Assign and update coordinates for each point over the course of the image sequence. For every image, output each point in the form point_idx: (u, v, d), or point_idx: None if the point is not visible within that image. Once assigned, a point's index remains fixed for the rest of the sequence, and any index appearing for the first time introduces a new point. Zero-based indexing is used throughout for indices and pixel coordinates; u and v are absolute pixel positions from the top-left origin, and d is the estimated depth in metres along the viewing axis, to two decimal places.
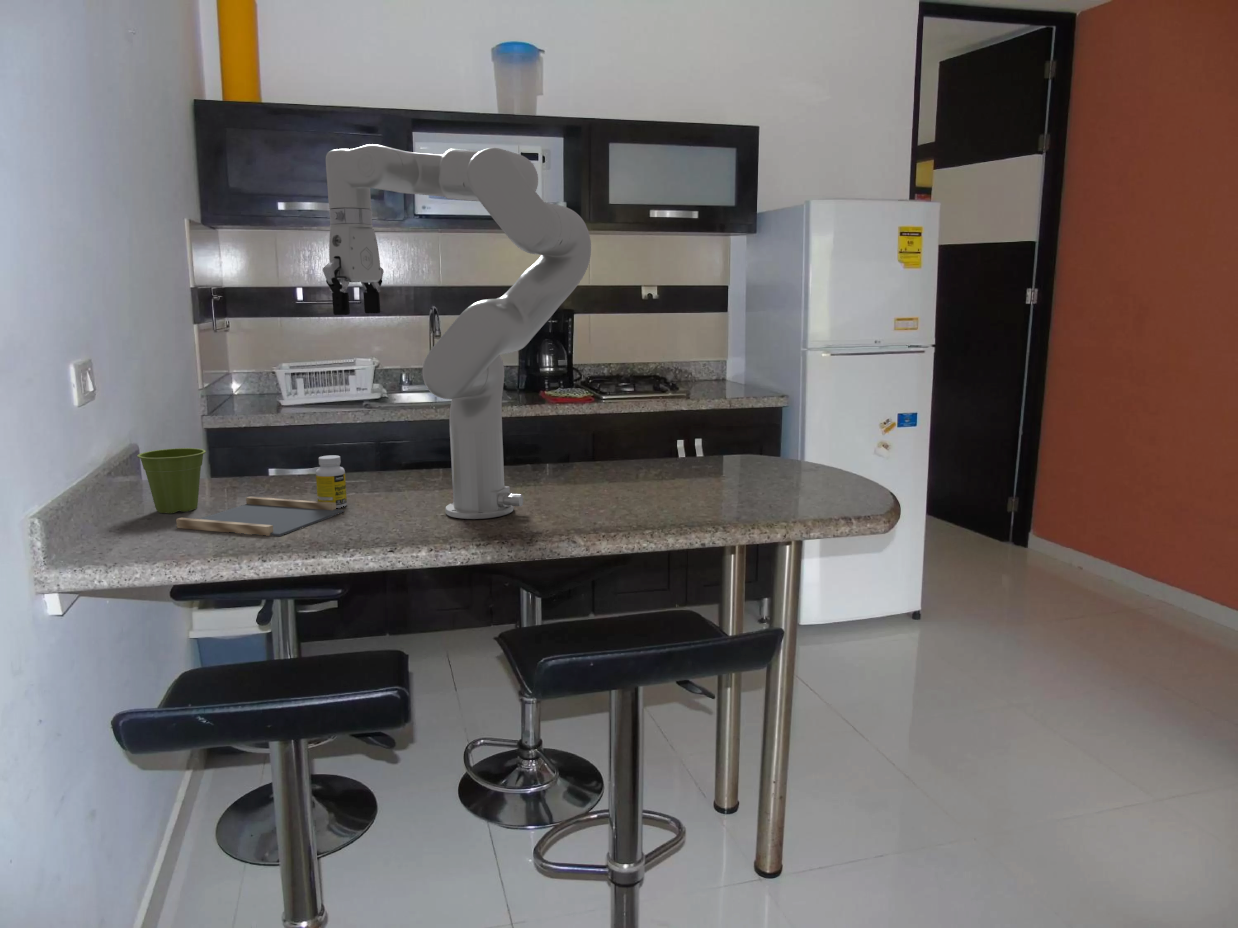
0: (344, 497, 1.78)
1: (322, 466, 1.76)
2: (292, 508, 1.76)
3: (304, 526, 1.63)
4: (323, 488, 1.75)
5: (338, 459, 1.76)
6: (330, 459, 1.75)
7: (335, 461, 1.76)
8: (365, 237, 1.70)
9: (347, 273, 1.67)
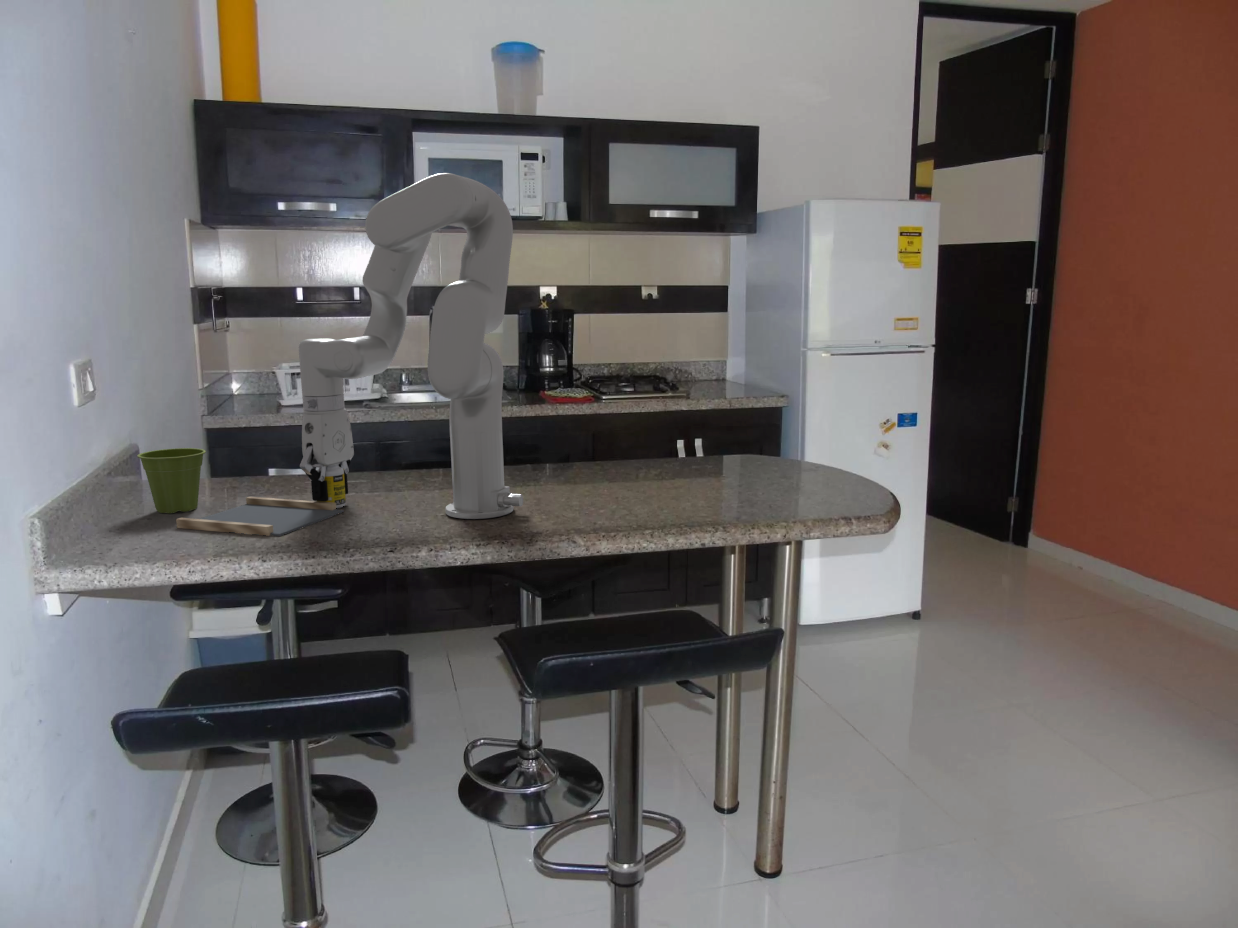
0: (343, 497, 1.77)
1: None
2: (292, 508, 1.76)
3: (304, 526, 1.63)
4: None
5: None
6: None
7: None
8: (337, 420, 1.74)
9: (319, 459, 1.71)
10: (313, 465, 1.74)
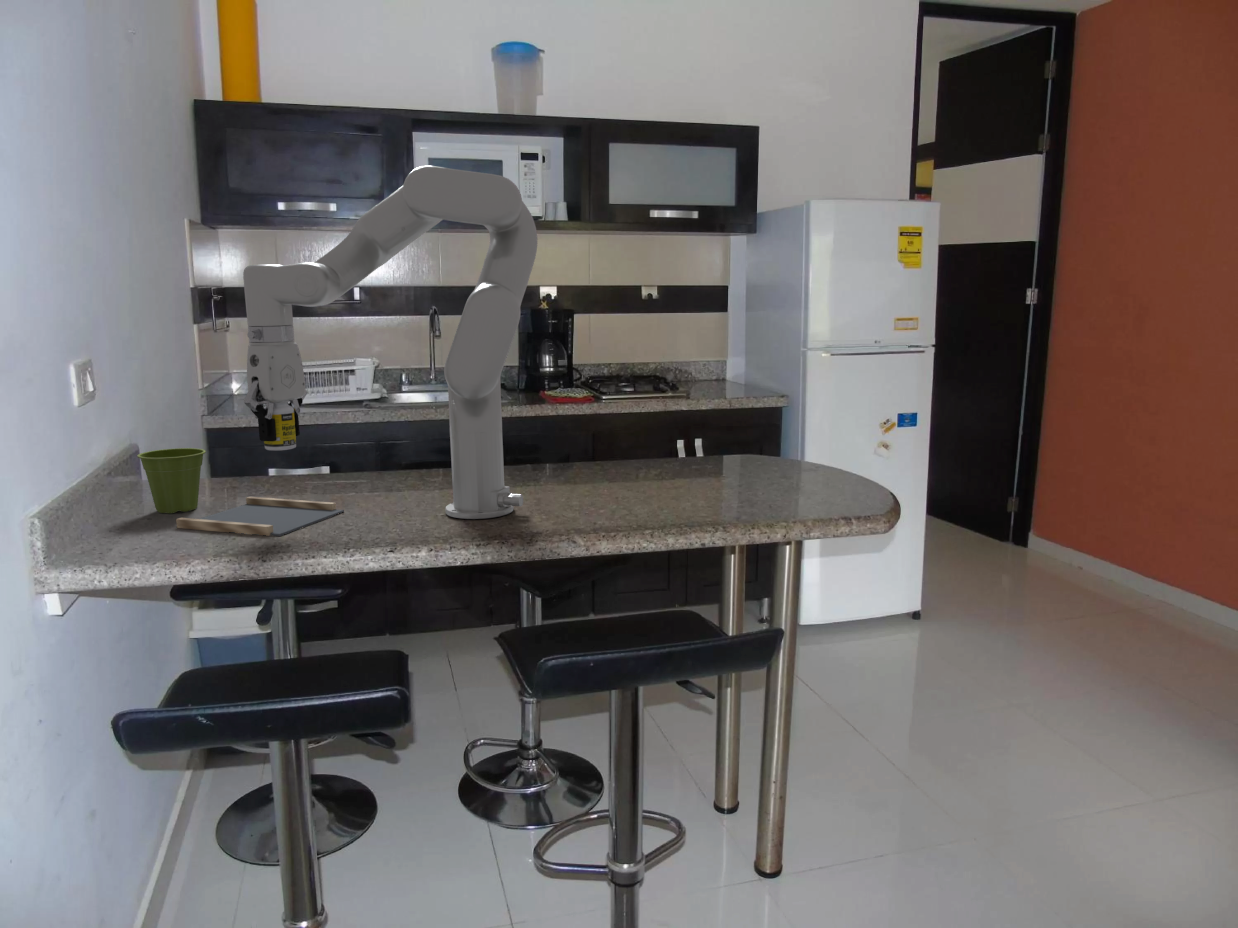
0: (293, 438, 1.64)
1: None
2: (292, 508, 1.76)
3: (304, 526, 1.63)
4: None
5: None
6: None
7: None
8: (285, 354, 1.61)
9: (266, 395, 1.58)
10: (260, 402, 1.61)
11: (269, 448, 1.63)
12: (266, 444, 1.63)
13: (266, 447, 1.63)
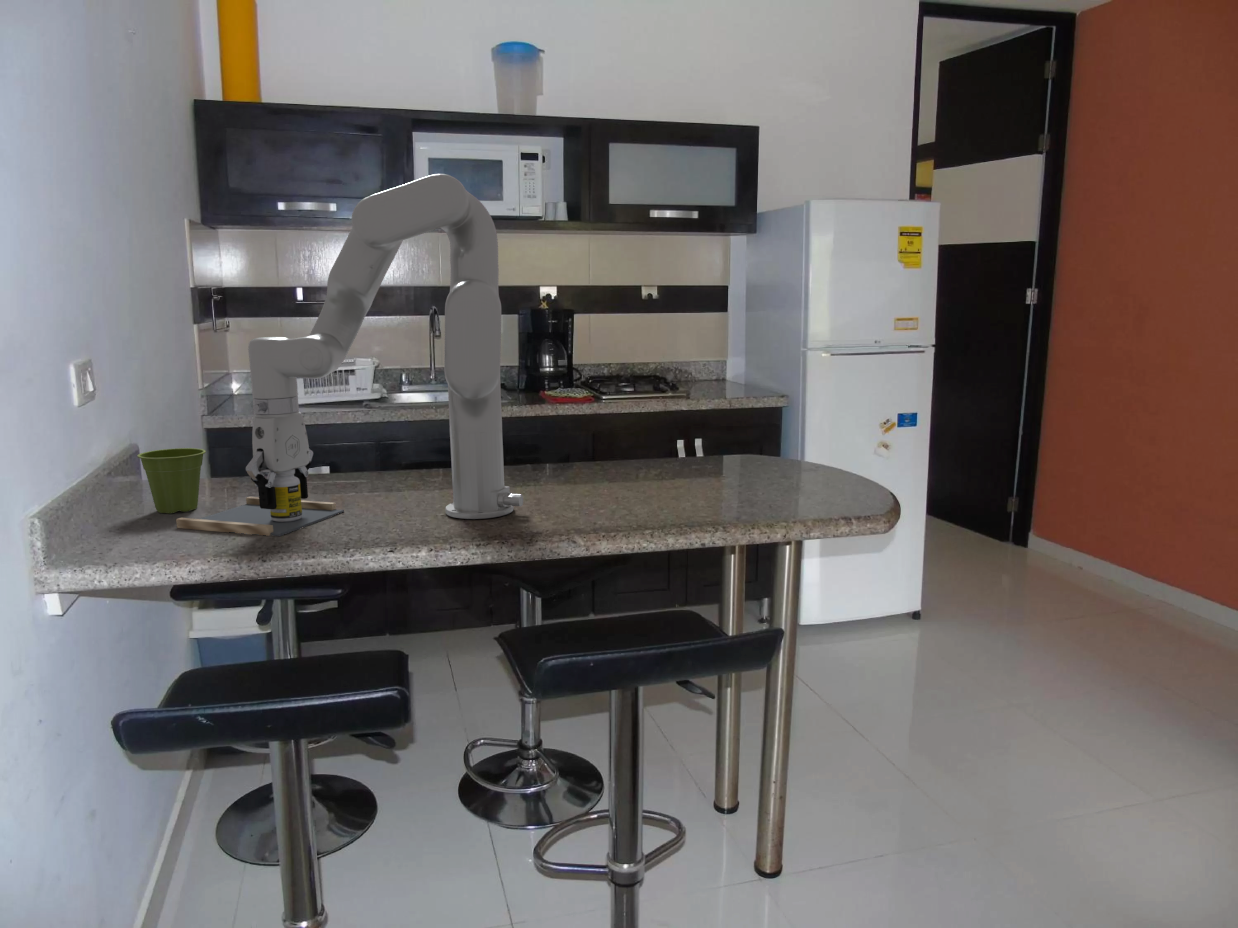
0: (299, 509, 1.67)
1: (275, 476, 1.64)
2: None
3: (304, 526, 1.63)
4: (276, 499, 1.64)
5: None
6: None
7: (289, 471, 1.65)
8: (290, 424, 1.63)
9: (271, 466, 1.60)
10: (262, 470, 1.62)
11: (275, 520, 1.65)
12: (272, 515, 1.65)
13: (272, 519, 1.66)
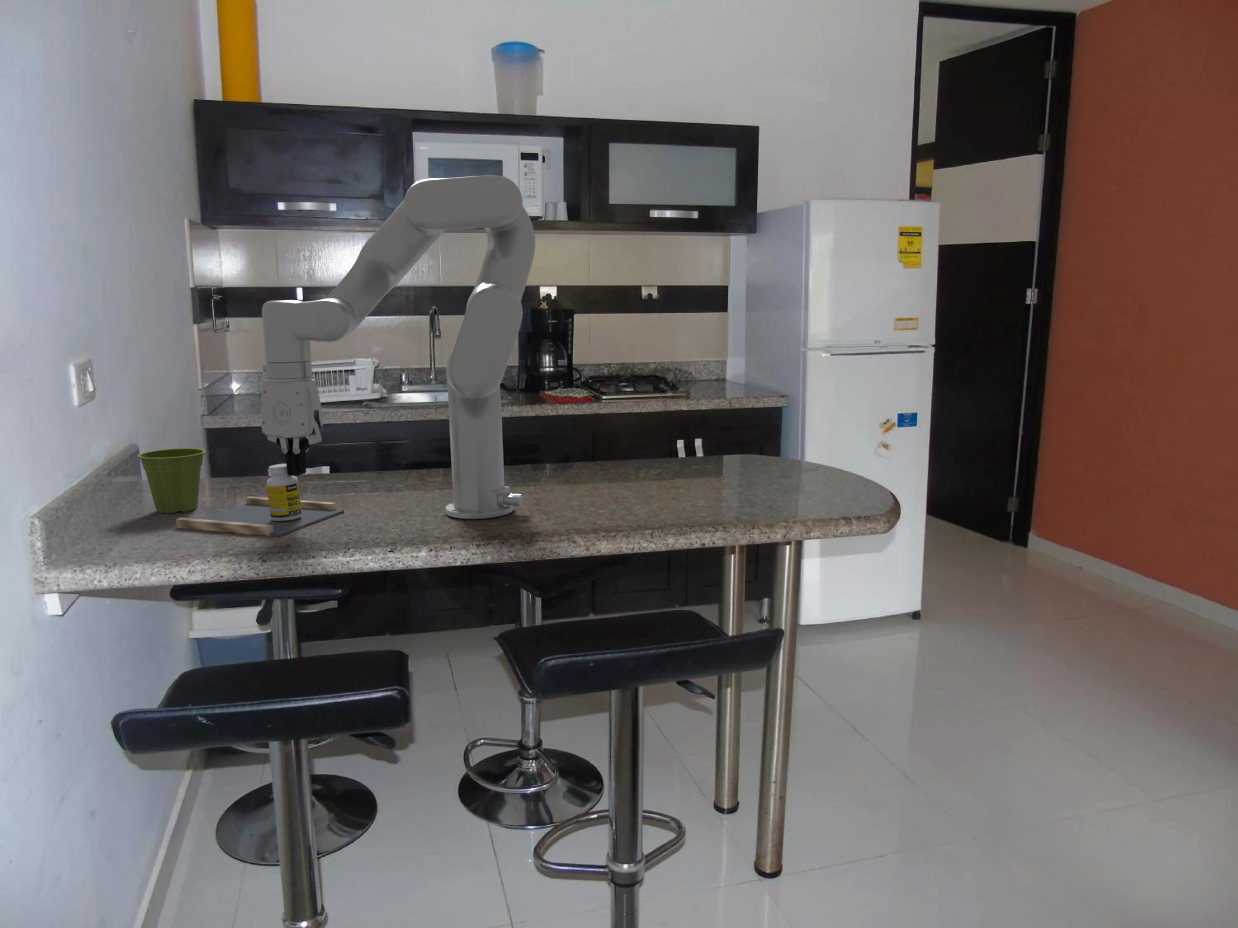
0: (298, 508, 1.67)
1: (273, 475, 1.65)
2: None
3: (304, 526, 1.63)
4: (275, 499, 1.64)
5: None
6: (281, 468, 1.64)
7: (286, 469, 1.65)
8: (280, 391, 1.59)
9: None
10: None
11: (275, 519, 1.65)
12: (272, 515, 1.65)
13: (272, 518, 1.66)
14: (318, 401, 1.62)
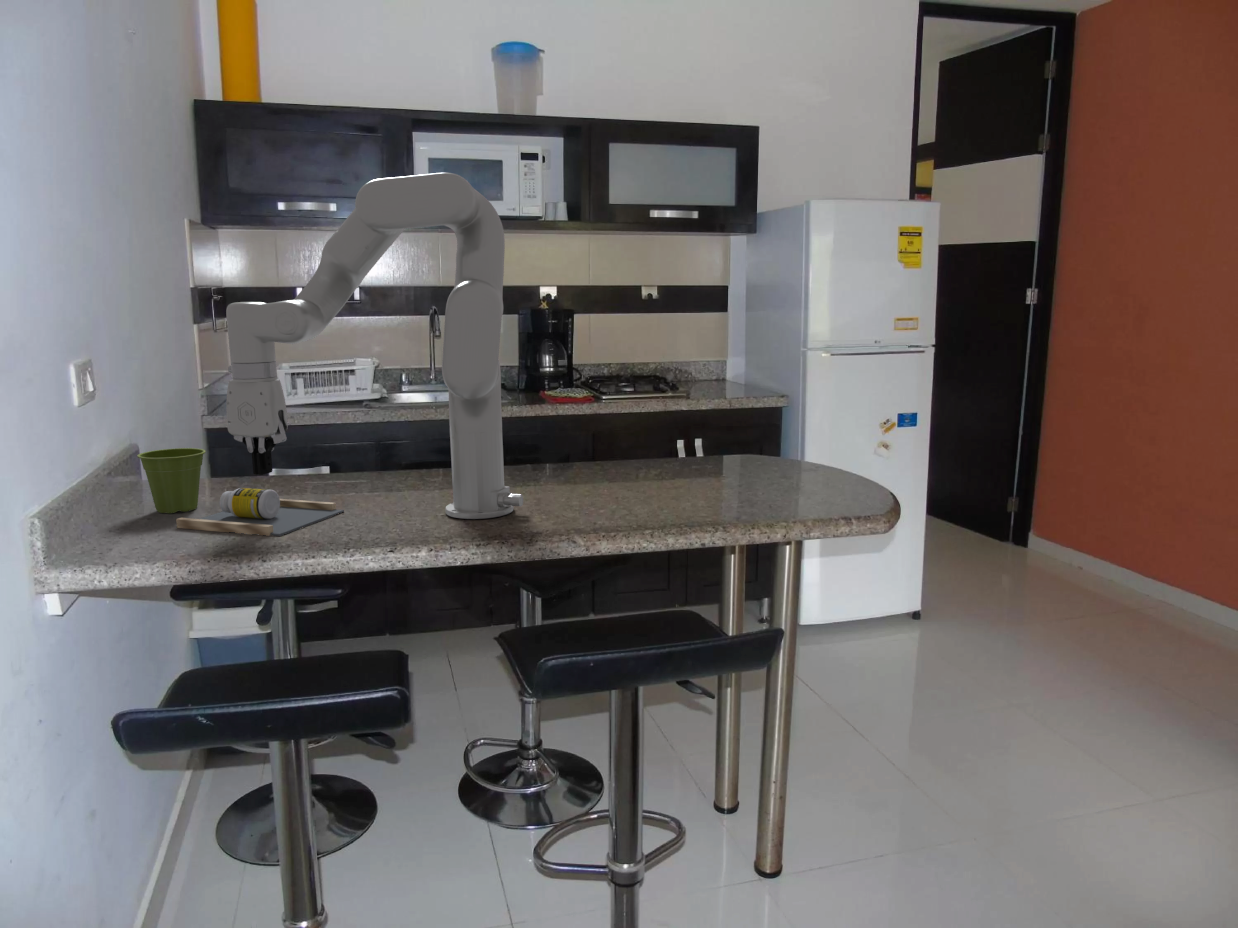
0: (260, 489, 1.67)
1: (228, 507, 1.68)
2: (292, 508, 1.76)
3: (304, 526, 1.63)
4: (242, 507, 1.66)
5: (226, 491, 1.70)
6: (220, 498, 1.68)
7: (225, 493, 1.69)
8: (244, 391, 1.62)
9: None
10: None
11: (260, 511, 1.65)
12: (259, 514, 1.66)
13: (262, 515, 1.66)
14: (283, 401, 1.64)
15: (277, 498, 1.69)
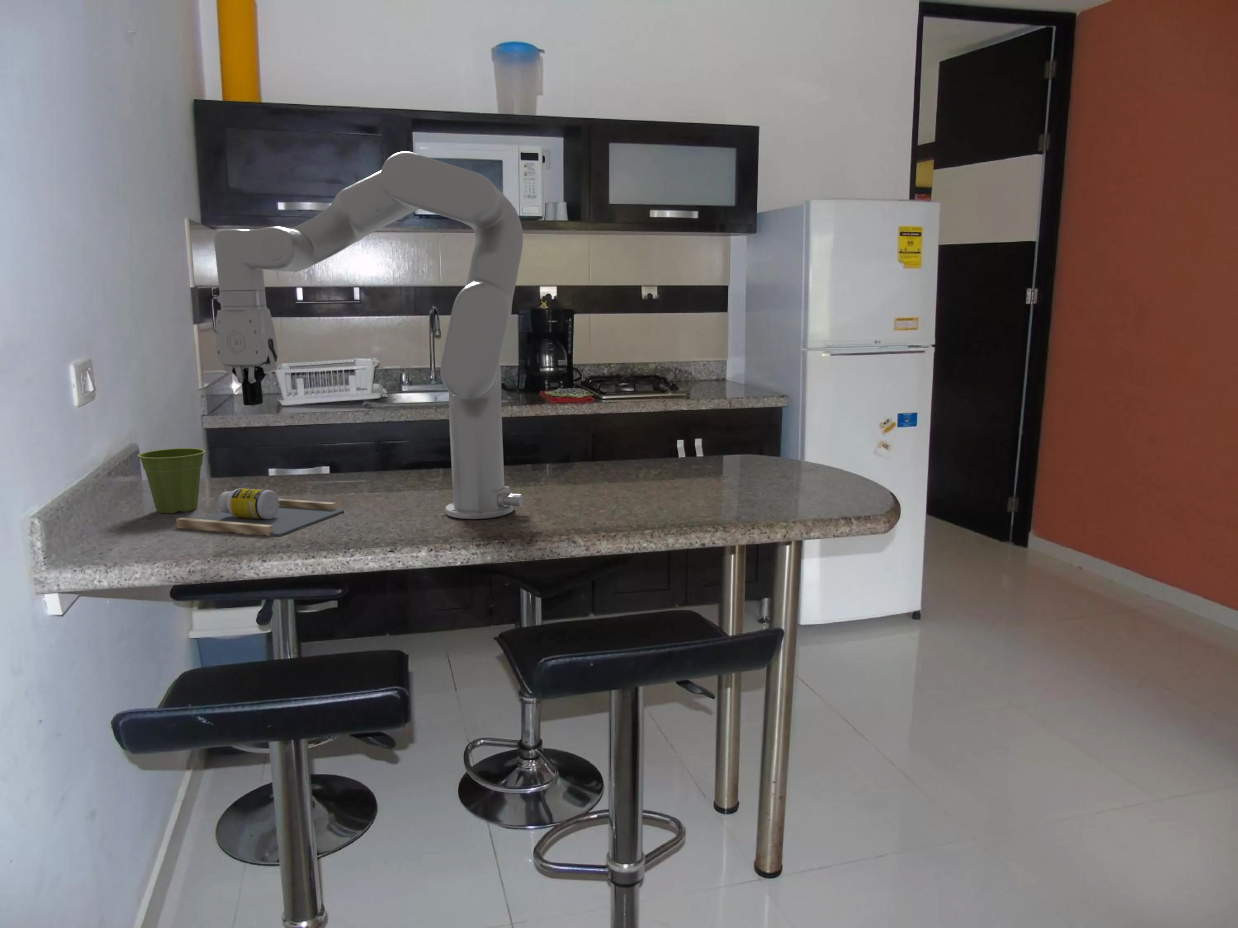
0: (258, 490, 1.67)
1: (227, 509, 1.68)
2: (292, 508, 1.76)
3: (304, 526, 1.63)
4: (241, 509, 1.66)
5: (224, 492, 1.69)
6: (219, 499, 1.68)
7: (223, 495, 1.68)
8: (233, 319, 1.61)
9: None
10: None
11: (260, 513, 1.65)
12: (258, 515, 1.66)
13: (262, 516, 1.66)
14: (272, 330, 1.63)
15: (275, 497, 1.69)
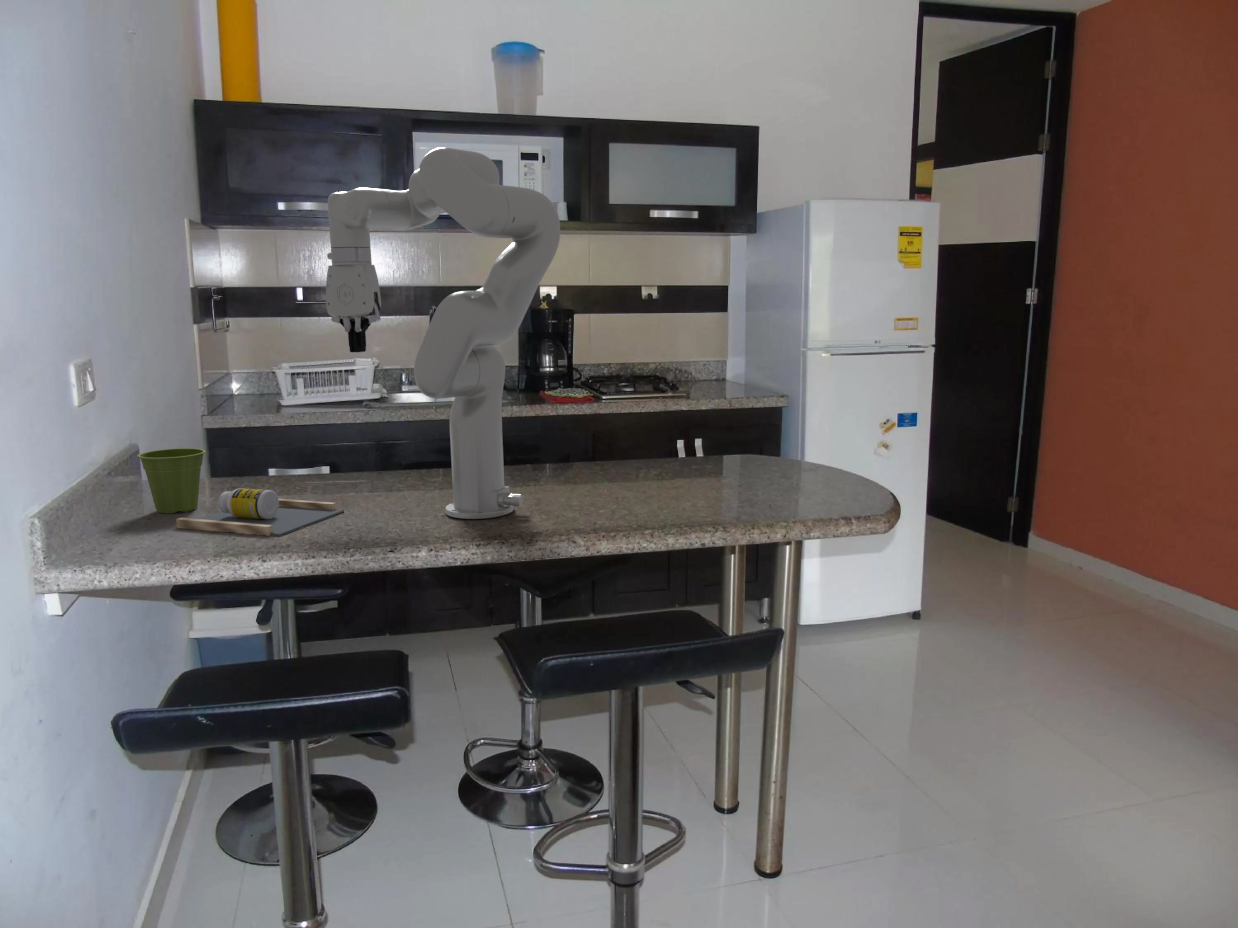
0: (258, 490, 1.67)
1: (227, 509, 1.68)
2: (292, 508, 1.76)
3: (304, 526, 1.63)
4: (241, 509, 1.66)
5: (224, 492, 1.69)
6: (219, 499, 1.68)
7: (223, 495, 1.68)
8: (344, 273, 1.79)
9: None
10: None
11: (260, 513, 1.65)
12: (258, 515, 1.66)
13: (262, 516, 1.66)
14: (377, 284, 1.81)
15: (275, 497, 1.69)
